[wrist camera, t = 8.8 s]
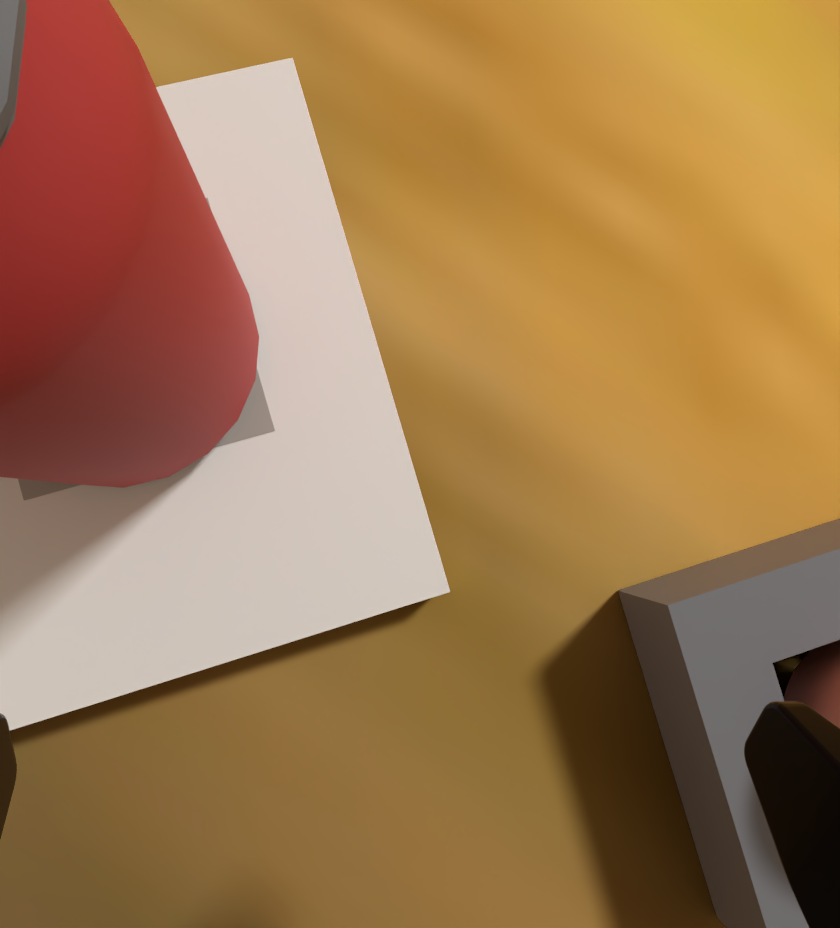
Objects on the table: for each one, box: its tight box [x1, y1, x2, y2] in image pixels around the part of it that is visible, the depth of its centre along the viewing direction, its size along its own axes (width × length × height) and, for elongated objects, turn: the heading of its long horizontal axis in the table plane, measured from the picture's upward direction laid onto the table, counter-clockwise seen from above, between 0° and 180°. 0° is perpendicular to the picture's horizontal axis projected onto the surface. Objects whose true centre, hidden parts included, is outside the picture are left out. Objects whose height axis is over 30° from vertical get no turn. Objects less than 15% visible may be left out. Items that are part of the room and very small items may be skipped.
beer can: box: [0, 0, 259, 488], centre depth 11 cm, size 7×7×12 cm
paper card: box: [0, 58, 450, 730], centre depth 18 cm, size 14×12×1 cm
